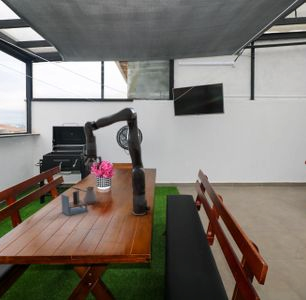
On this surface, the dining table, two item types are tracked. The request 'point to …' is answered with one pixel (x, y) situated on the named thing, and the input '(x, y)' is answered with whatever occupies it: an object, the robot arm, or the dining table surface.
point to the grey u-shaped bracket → (72, 206)
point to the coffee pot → (89, 195)
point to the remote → (76, 197)
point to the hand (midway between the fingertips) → (92, 170)
